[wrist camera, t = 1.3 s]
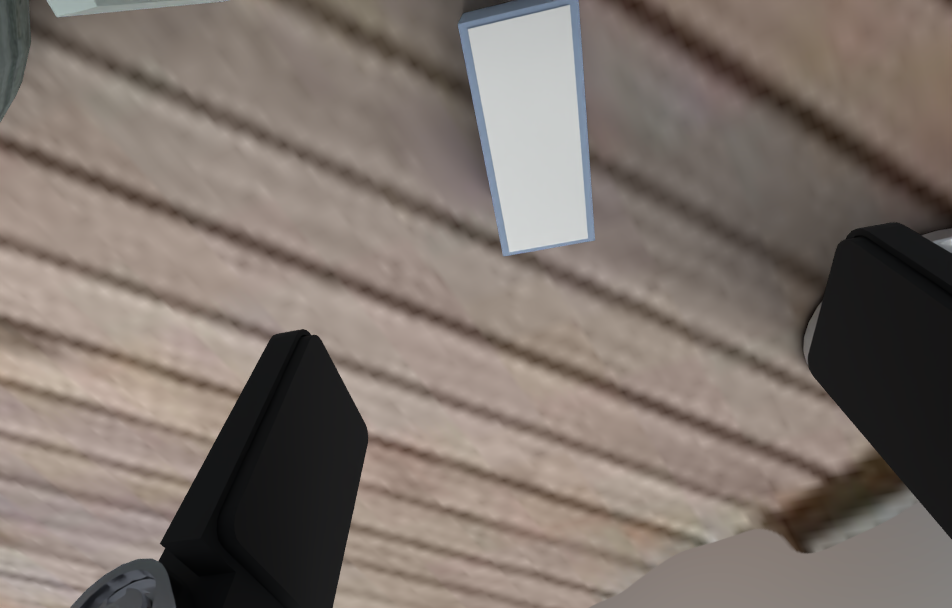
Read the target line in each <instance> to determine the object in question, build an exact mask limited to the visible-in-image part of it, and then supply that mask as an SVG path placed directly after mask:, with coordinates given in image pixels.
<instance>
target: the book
mask: <svg viewBox="0 0 952 608" xmlns="http://www.w3.org/2000/svg"><path fill="white" fill-rule="evenodd" d="M458 28H459V33H460V38H461V43H462V49H463V54H464V59H465V64H466V69H467V74H468V79H469V84H470V89H471V94H472V99H473V105H474V110H475V115H476V120H477V125H478V130H479V135H480V140H481V145H482V150H483V155H484V161H485V166H486V171H487V176H488V181H489V186H490V191H491V196H492V201H493V206H494V211H495V217H496V222H497V227H498V232H499V237H500V242H501V247H502V252H503V256H509V255H514V254H520V253H526V252H531V251H537V250H543V249H548V248H554V247H560V246H565V245H571V244H577V243H582V242H588V241H594V240H595V234H594V219H593V205H592V190H591V175H590V161H589V146H588V131H587V117H586V102H585V87H584V73H583V58H582V43H581V29H580V14H579V0H515V1H511V2H507V3H503V4H499V5H495V6H491V7H487V8H482V9H478V10H474V11H470V12H466V13H463V14H462V16H461V19H460V21H459V23H458Z"/></svg>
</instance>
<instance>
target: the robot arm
mask: <svg viewBox="0 0 952 608" xmlns="http://www.w3.org/2000/svg"><path fill="white" fill-rule="evenodd" d="M803 351H804V355H805V359H806V363H807V364H808V366H809V369H810V371H811V373H812V375H813V376H814V378H815V379H816V380H817V381H818V382H819V384H820V385H821V386H822V387H823V388H824V389H825V391H826V392H827V393H828V394H829V395H830V397H831V398H832V399H833V400H834V401H835V402H836V404H837V405H838V406H839V407H840V408H841V409H842V411H843V412H844V413H845V414H846V415H847V417H848V418H849V419H850V420H851V421H852V422H853V424H854V425H855V426H856V427H857V428H858V430H859V431H860V432H861V433H862V434H863V435H864V437H865V438H866V439H867V440H868V441H869V442H870V444H871V445H872V446H873V447H874V448H875V450H876V451H877V452H878V453H879V454H880V455H881V457H882V458H883V459H884V460H885V461H886V463H887V464H888V465H889V466H890V467H891V468H892V470H893V471H894V472H895V473H896V474H897V475H898V477H899V478H900V479H901V480H902V481H903V483H904V484H905V485H906V486H907V487H908V488H909V490H910V491H911V492H912V493H913V494H914V496H915V497H916V498H917V499H918V500H919V501H920V503H921V504H922V505H923V506H924V507H925V508H926V510H927V511H928V512H929V513H930V514H931V515H932V517H933V518H934V519H935V520H936V521H937V523H938V524H939V525H940V526H941V527H942V529H943V530H944V531H945V532H946V533H947V534H948V536H949V537H950V538H951V539H952V228H950V229H944V230H938V231H934V232H931V233H927V234H924V235H920V234H918V233H916V232H915V231H913V230H911V229H910V228H908V227H906V226H904V225H902V224H900V223H886V224H881V225H875V226H870V227H864V228H859V229H855V230H853V231H851V232H850V233H849V234H848V236H847V238H846V240H843V241H841V242H840V243H839V244H838V246H837V249H836V252H835V256H834V259H833V263H832V267H831V271H830V274H829V278H828V282H827V286H826V289H825V293H824V297H823V301H822V302H821V303H820V304H819V306H818V307H817V309H816V310H815V312H814V314H813V316H812V318H811V319H810V321H809V323H808V327H807V330H806V333H805V336H804V349H803ZM367 444H368V431H367V427H366V424H365V422H364V420H363V419H362V417H361V415H360V413H359V411H358V409H357V407H356V405H355V403H354V401H353V400H352V398H351V396H350V394H349V392H348V390H347V388H346V386H345V384H344V382H343V381H342V379H341V377H340V375H339V373H338V371H337V369H336V367H335V365H334V363H333V362H332V360H331V358H330V356H329V354H328V352H327V350H326V348H325V346H324V344H323V343H322V341H321V339H320V338H319V337H318V336H317V335H311V334H310V333H309V332H308V331H307V330H304V329H302V330H296V331H290V332H285V333H279V334H276V335H273V336H272V338H271V339H270V341H269V343H268V344H267V346H266V348H265V350H264V352H263V354H262V355H261V357H260V359H259V361H258V363H257V365H256V367H255V368H254V370H253V372H252V374H251V376H250V378H249V380H248V381H247V383H246V385H245V387H244V389H243V391H242V393H241V394H240V396H239V398H238V400H237V402H236V404H235V406H234V407H233V409H232V411H231V413H230V415H229V417H228V419H227V420H226V422H225V424H224V426H223V428H222V430H221V432H220V433H219V435H218V437H217V439H216V441H215V443H214V445H213V446H212V448H211V450H210V452H209V454H208V456H207V457H206V459H205V461H204V463H203V465H202V467H201V469H200V470H199V472H198V474H197V476H196V478H195V480H194V482H193V483H192V485H191V487H190V489H189V491H188V493H187V495H186V496H185V498H184V500H183V502H182V504H181V506H180V508H179V509H178V511H177V513H176V515H175V517H174V519H173V521H172V522H171V524H170V526H169V528H168V530H167V532H166V534H165V535H164V537H163V539H162V541H161V543H160V544H161V545H162V546H163V547H165V550H164V552H163V554H162V556H161V558H160V559H159V561H156V560H154V559H137V560H134V561H131V562H129V563H126V564H123V565H121V566H119V567H117V568H116V569H114V570H112V571H111V572H109V573H107V574H105V575H104V576H103V577H101V578H100V579H99V580H98V581H97V582H95V583H94V584H93V585H92V586H90V587H89V588H88V589H87V590H86V591H85V592H84V593H83V594H82V595H81V596H80V597H79V598H78V600H77V601H76V602H75V603H74V604H73V605H72V606H71V607H70V608H333V603H334V598H335V594H336V589H337V584H338V580H339V575H340V570H341V566H342V561H343V556H344V552H345V547H346V542H347V538H348V533H349V528H350V524H351V519H352V514H353V510H354V505H355V500H356V496H357V491H358V486H359V482H360V477H361V472H362V468H363V463H364V458H365V454H366V449H367Z"/></svg>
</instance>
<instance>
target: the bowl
mask: <svg viewBox="0 0 952 608" xmlns="http://www.w3.org/2000/svg"><path fill="white" fill-rule="evenodd" d="M30 44H31V32H30V14H29V0H0V122H1V121H2V119H3V117H4V115H5V114H6V112H7V110H8V108H9V107H10V105H11V103H12V101H13V100H14V98H15V96H16V94H17V92H18V90H19V87H20V85H21V83H22V79H23V75H24V70H25V66H26V61H27V57H28V53H29V48H30Z"/></svg>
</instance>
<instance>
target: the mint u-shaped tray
mask: <svg viewBox="0 0 952 608" xmlns="http://www.w3.org/2000/svg"><path fill="white" fill-rule="evenodd" d="M224 1H228V0H47V2H48V4H49V5H50V7H51V9H52V10H53V12H54V13H55V15H56V17H67V16H77V15H88V14H98V13H109V12H119V11H130V10H140V9H151V8H161V7H172V6H182V5H193V4H203V3H213V2H224Z"/></svg>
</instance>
